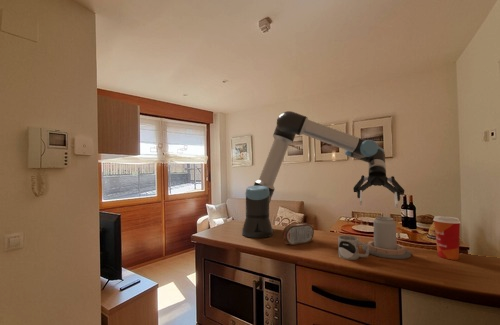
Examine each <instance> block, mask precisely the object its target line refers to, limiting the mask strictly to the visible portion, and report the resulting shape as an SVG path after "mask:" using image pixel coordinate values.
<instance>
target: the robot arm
mask: <svg viewBox="0 0 500 325" xmlns="http://www.w3.org/2000/svg"><path fill="white" fill-rule="evenodd" d="M297 135H298V136H302V135H304V136H305V137H310V138H311V139H314V140H317V141H319V142H323V143H325V144H329V145H331V146H334V147H336V148H339V149H342V150H345V151H344V154H345V156H347V157H349V158H353V159H356V160H359V161H362V162H365V163H368V176H365V175H364V174H363V175H361V178H360V179H359V180H358V181H357V183H356V184H355V185H354V186H353V189H352V190H353V193H357V199H359V205H360V206H363V192H364V191H366V190H367V189H368V188H370V187H371V188H372V186H374V187H376V186H377V187H378V186H379V187H381V186H382V187H383V188H385V189H388V190H389V191H390V192H391V193H393V194H394V196H393V198H394V208H396V209H398V207H399V202H400V201H401V196H404V195H405V189H404V188H403V187H402V186H401V185H400V184H399V183H398V181H397V180H396V179H395V176H394V175H392V176H390V177H388V176H387V170H386V169H387V166H386V153H385V150H384V148H382V147H381V146H379V145H378V142H376V141H375V140H373V139H364V138H360V137H357V136H356V135H351V134H349V133H347V132H345V131H344V132H343V131H341V130H338V129H335V128H333V127H330V126H327V125H325V124H321V123H319V122H316V121H314V120H313V121H312V120H310V119H309V118H308V117H307V115H306V116H305V115H303V114H299V113H297V112H294V111H289V110H288V111H284V112H281V113H280V114H279V116H278V117H277V119H276V126H275V129H274V132H273V134H272V137H273V140H272V141H273V142H272V144H271V146H270V150H269V152H268V154H267V157H266V159H265V162H264V166H263V168H262V170H261V173H260V174H259V175H260V176H259V178H258V179H256V180H255V181H254V183H253V185H250V186H248V187H246V189H245V193H244V195H245V220H244V222H243V225H242V226H243V227H242V229H241V235H242V234H243V235H242V236H244V237H247V238H252V239H255V238H256V239H261V238H269V237H272V236H273V235H274V229H273V227H272V222H271V219H270V203H271V201H272V197H273V195H274V192H275V190H276V189H275V185H274V184H275V183H276V179H277V177H278V173H279V172H280V169H281V166H282V164H283V161H284V158H285V155H286V153H287V151H288V148H289V145H291V144H293V143H294V139H295V138H296V136H297ZM388 181H389V182H388ZM364 182H365V183H364Z"/></svg>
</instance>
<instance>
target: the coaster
mask: <svg viewBox="0 0 500 325" xmlns="http://www.w3.org/2000/svg"><path fill="white" fill-rule="evenodd" d="M366 244H368V247H369V255H372V256H375V257H378V258H379V257H380V258H384V259H390V260H404V259H407V260H408V259H410V258H411V257H412V253H411V252H412V251H410V250H408V249H407V248H406V246H403V245H402V244H399V243H397V249H396V250H391V249H383V248H378V247H375V246H374V240H369V241H368V242H366ZM361 246H362V250H363V252H365V253H366V248H365V246H363V245H361Z"/></svg>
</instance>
